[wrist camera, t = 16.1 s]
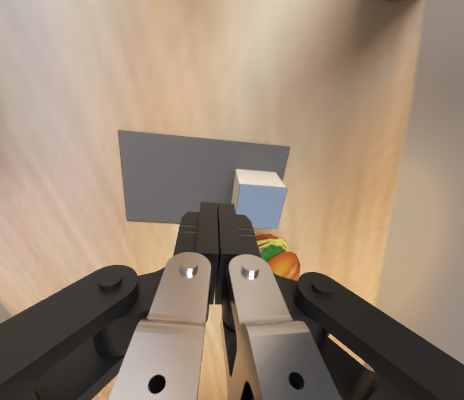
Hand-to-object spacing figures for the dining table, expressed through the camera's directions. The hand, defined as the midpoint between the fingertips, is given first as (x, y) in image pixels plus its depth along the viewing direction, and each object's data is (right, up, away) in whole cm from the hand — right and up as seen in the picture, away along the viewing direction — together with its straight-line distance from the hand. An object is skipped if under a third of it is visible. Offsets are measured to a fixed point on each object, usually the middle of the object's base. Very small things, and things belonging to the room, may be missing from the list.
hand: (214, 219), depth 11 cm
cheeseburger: (+8, -9, +39) cm, 40 cm away
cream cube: (+5, 0, +25) cm, 26 cm away
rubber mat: (-4, +4, +31) cm, 31 cm away
